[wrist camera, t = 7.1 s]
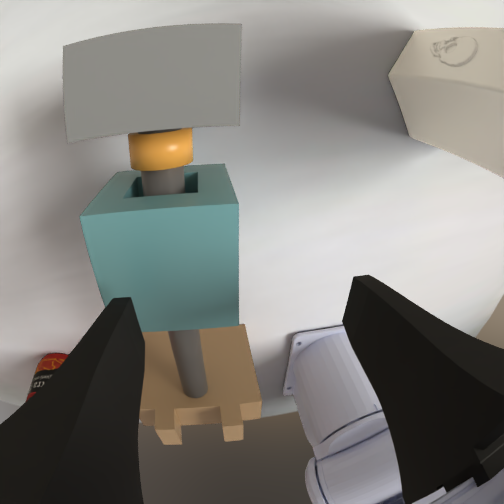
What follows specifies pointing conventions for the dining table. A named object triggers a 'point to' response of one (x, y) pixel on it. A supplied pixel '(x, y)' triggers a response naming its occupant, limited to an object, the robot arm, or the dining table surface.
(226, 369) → the rod peg assembly
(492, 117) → the jar
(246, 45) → the dining table surface
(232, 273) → the sleeve
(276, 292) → the dining table surface
